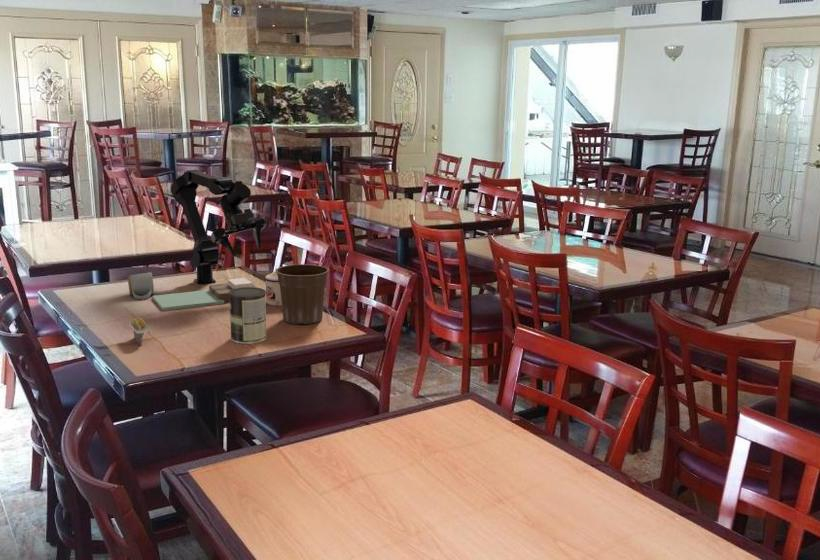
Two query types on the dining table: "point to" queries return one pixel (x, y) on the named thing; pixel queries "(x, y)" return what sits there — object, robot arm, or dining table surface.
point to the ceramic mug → (141, 285)
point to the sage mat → (186, 300)
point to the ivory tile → (239, 283)
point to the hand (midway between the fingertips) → (247, 252)
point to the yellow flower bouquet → (139, 329)
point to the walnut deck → (222, 291)
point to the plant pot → (302, 292)
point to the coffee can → (248, 315)
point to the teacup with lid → (273, 290)
